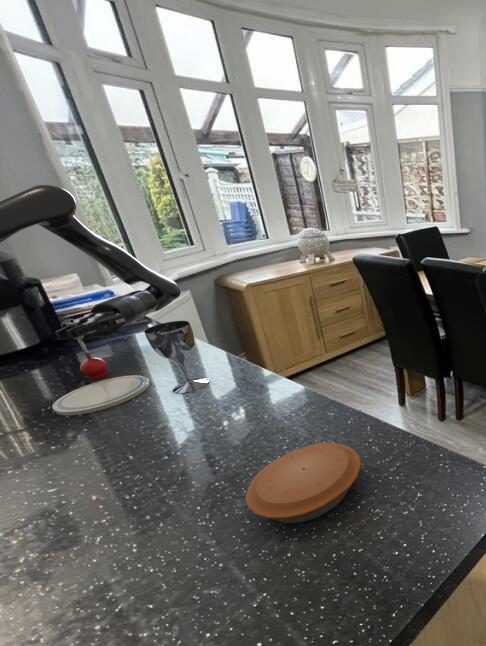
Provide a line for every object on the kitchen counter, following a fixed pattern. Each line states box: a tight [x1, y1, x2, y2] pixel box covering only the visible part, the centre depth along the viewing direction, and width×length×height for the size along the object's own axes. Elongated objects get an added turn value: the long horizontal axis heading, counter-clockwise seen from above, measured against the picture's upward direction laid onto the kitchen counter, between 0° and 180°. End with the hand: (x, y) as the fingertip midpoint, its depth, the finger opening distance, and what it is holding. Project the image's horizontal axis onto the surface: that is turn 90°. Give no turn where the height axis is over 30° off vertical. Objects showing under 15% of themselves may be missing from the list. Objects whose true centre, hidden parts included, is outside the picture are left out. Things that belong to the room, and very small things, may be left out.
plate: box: [51, 374, 151, 417], centre depth 90 cm, size 16×16×1 cm
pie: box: [244, 442, 362, 524], centre depth 59 cm, size 15×16×5 cm
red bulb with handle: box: [66, 322, 109, 381], centre depth 96 cm, size 5×5×14 cm
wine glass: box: [143, 320, 210, 394], centre depth 90 cm, size 8×8×15 cm
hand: (64, 335), depth 92 cm, fingers closed on red bulb with handle
